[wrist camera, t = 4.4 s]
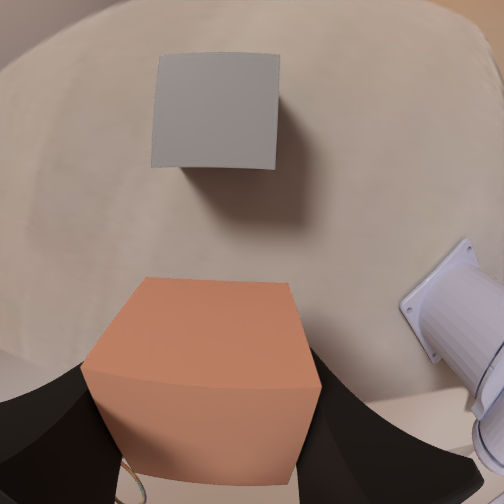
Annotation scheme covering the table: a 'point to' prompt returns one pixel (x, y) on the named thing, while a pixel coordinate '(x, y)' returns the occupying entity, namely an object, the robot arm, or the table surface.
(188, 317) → the terracotta block
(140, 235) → the table surface
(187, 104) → the slate block
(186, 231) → the table surface
